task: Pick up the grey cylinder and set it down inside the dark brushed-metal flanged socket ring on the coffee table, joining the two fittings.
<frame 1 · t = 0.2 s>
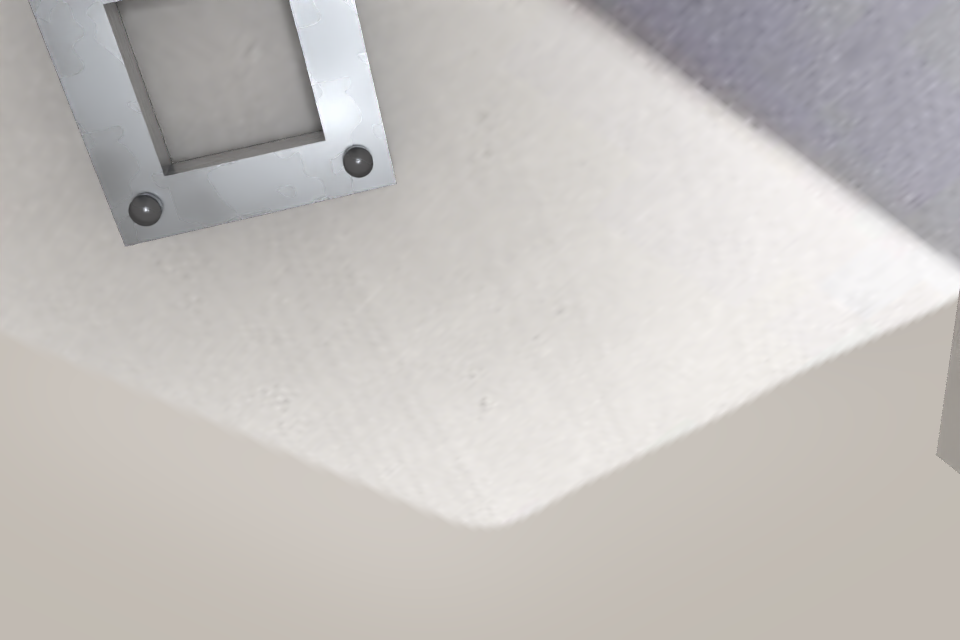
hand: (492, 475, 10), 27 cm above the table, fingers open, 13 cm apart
socket: (225, 68, 33), on the table
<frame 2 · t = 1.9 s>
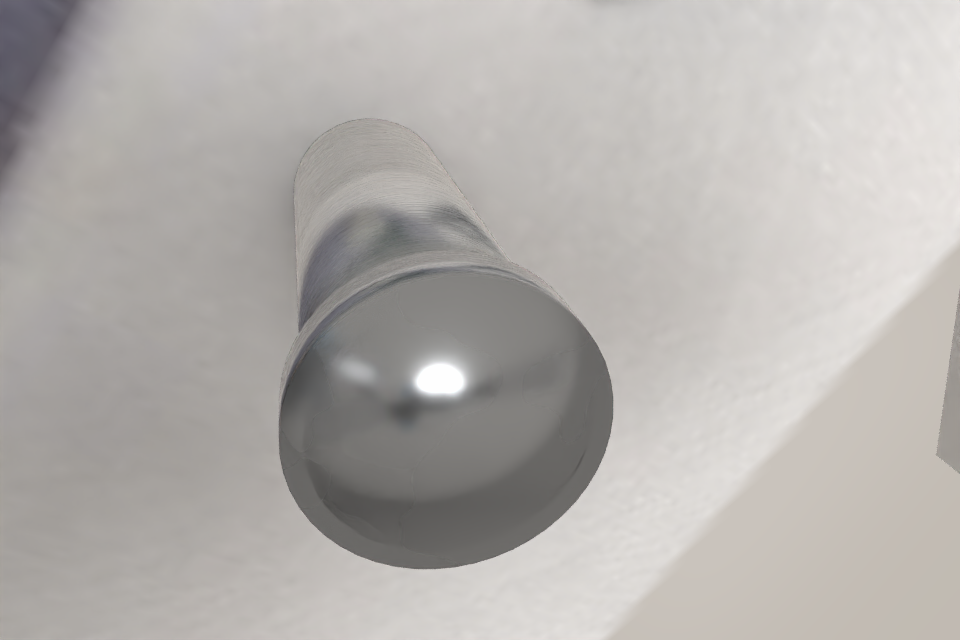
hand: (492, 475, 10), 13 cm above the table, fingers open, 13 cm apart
grey cylinder: (370, 194, 22), on the table
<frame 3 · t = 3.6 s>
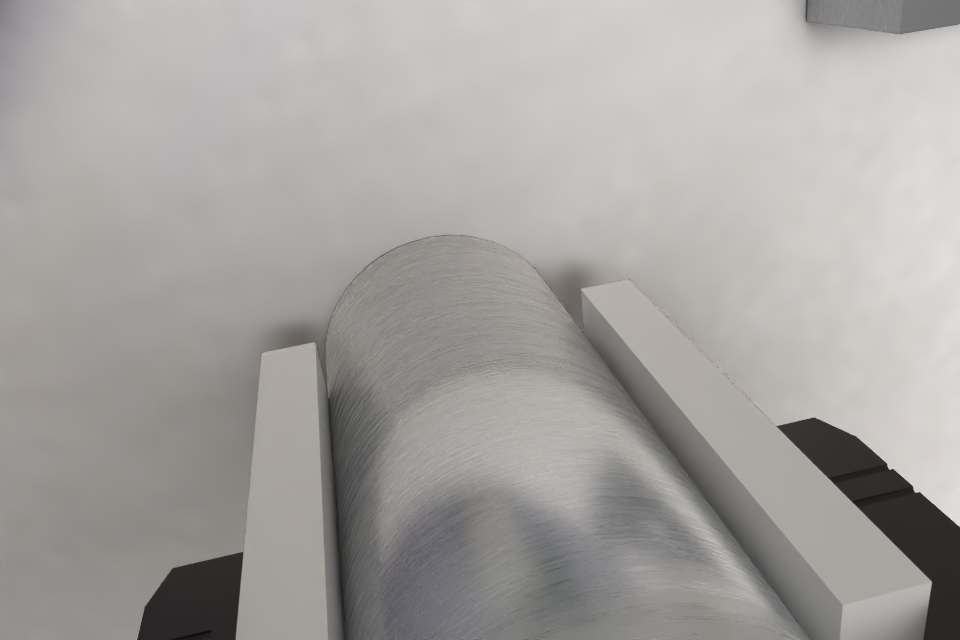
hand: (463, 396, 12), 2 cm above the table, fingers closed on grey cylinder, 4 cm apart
grey cylinder: (446, 348, 14), on the table, touching gripper
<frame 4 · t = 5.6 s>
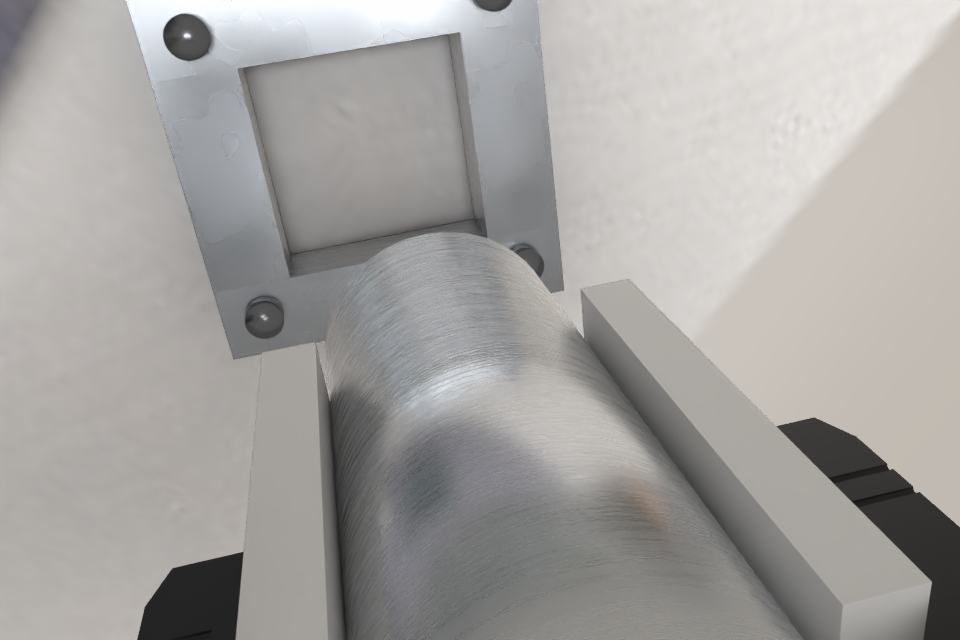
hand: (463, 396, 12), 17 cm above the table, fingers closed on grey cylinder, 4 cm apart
socket: (365, 144, 27), on the table
grey cylinder: (443, 342, 14), point 15 cm above the table, touching gripper
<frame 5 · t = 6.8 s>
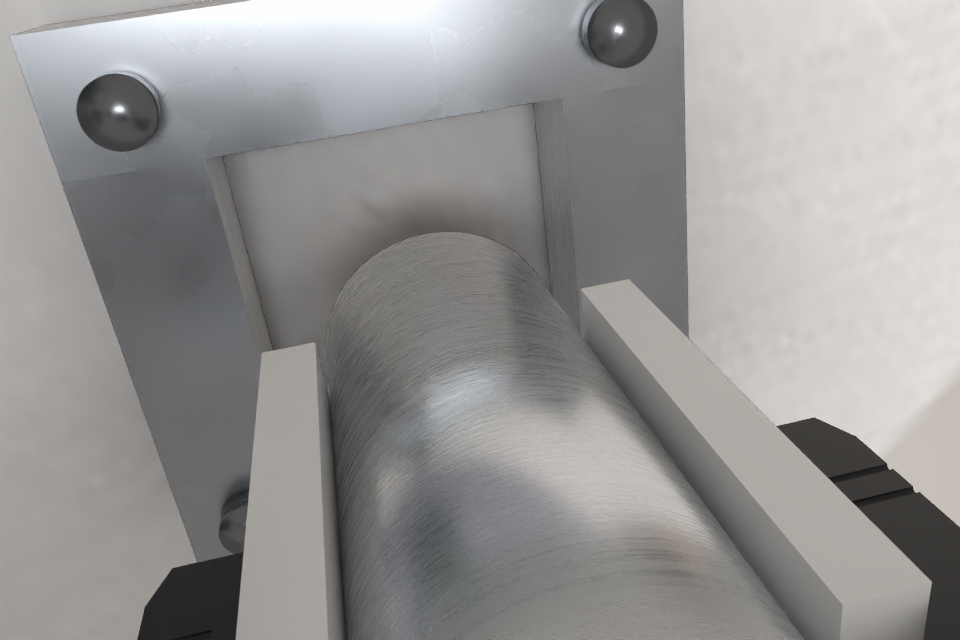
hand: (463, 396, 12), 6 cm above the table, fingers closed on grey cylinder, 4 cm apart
socket: (403, 254, 18), on the table
grey cylinder: (442, 342, 14), point 4 cm above the table, touching gripper
when the fingers open (4 cm above the table, at t = 7.5 s): grey cylinder drops 1 cm, resting in socket.
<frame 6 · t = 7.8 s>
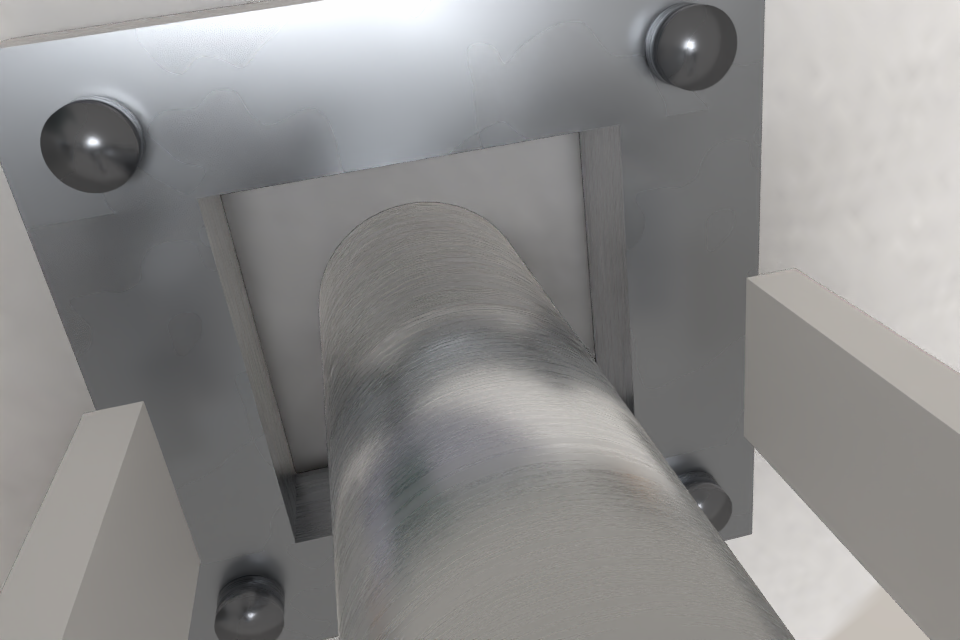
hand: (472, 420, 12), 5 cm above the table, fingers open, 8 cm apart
socket: (427, 299, 16), on the table
grey cylinder: (424, 302, 16), resting in socket
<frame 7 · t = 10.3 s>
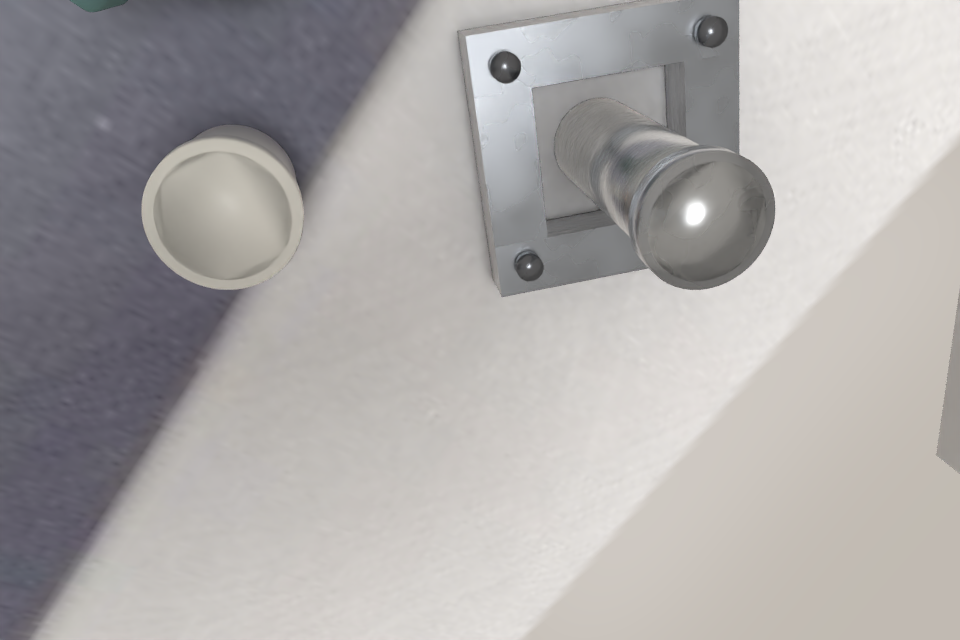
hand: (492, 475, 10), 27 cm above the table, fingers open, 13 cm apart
socket: (598, 141, 37), on the table
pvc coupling: (237, 183, 35), on the table
grey cylinder: (597, 142, 37), resting in socket
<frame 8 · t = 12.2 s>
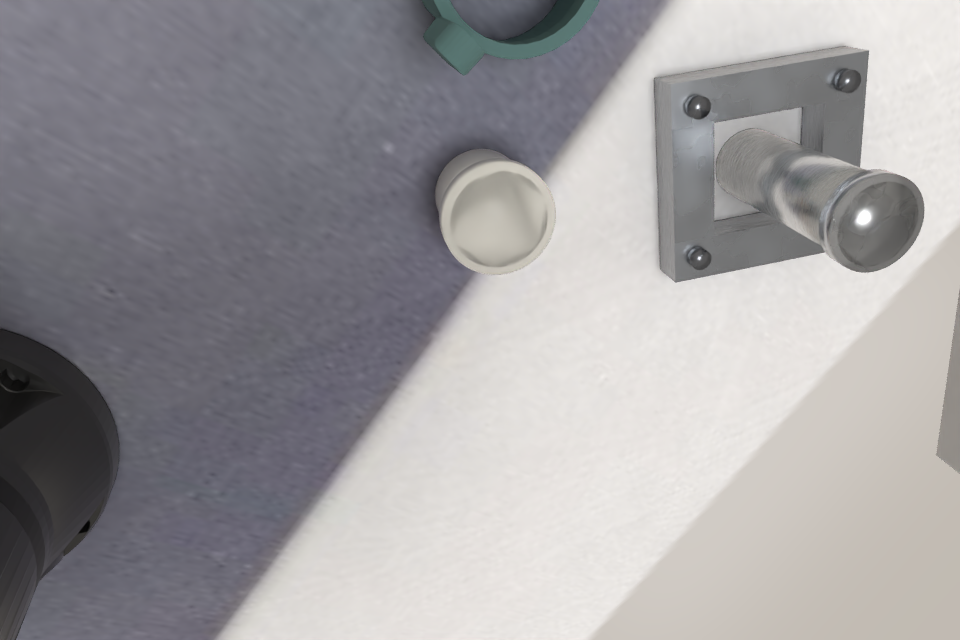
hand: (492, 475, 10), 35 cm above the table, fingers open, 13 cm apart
socket: (749, 161, 48), on the table
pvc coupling: (479, 193, 45), on the table
grey cylinder: (747, 163, 48), resting in socket
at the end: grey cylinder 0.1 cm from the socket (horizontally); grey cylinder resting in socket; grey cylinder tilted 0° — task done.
